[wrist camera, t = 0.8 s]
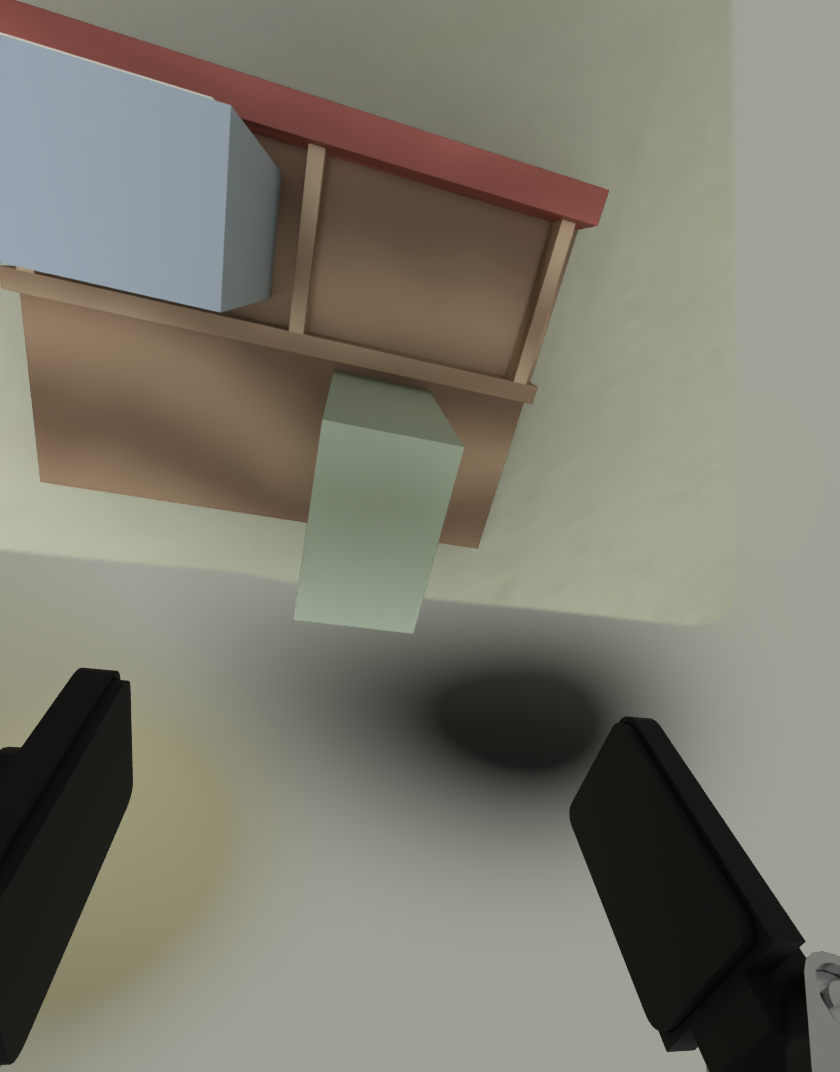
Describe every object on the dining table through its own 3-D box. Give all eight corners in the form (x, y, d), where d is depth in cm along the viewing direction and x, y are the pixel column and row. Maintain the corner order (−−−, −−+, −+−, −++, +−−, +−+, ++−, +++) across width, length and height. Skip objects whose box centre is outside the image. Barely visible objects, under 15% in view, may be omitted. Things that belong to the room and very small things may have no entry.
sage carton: (431, 390, 24) (468, 448, 16) (399, 529, 27) (416, 634, 19) (334, 369, 23) (322, 419, 15) (312, 515, 26) (293, 619, 18)
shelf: (4, 20, 17) (-54, -22, 15) (580, 199, 22) (609, 190, 19) (49, 475, 25) (15, 498, 22) (474, 542, 29) (485, 566, 27)
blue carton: (67, 107, 18) (-160, -24, 10) (282, 168, 20) (231, 97, 12) (76, 252, 20) (-107, 238, 12) (270, 298, 22) (220, 312, 14)
